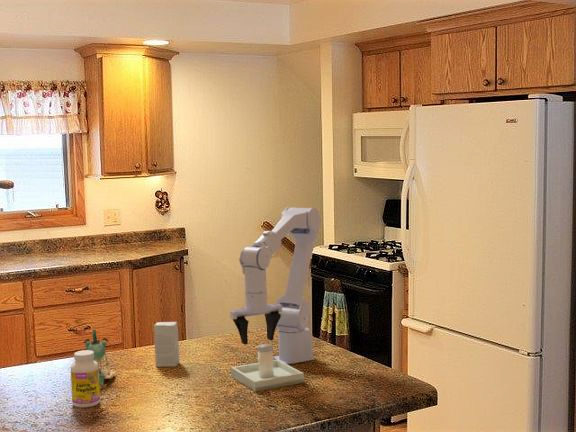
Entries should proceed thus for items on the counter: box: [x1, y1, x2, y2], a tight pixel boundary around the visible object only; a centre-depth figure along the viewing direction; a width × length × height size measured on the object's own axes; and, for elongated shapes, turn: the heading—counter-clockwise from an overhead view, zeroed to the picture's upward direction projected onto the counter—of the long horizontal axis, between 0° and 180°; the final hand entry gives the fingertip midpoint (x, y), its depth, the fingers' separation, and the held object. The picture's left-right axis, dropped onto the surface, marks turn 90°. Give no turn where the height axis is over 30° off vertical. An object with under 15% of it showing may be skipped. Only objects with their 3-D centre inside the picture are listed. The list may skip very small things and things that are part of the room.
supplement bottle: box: [70, 349, 101, 409], centre depth 192 cm, size 7×7×13 cm
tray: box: [230, 359, 305, 393], centre depth 208 cm, size 14×15×2 cm
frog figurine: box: [83, 329, 116, 390], centre depth 212 cm, size 10×18×15 cm, turn 7°
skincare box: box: [153, 321, 180, 368], centre depth 223 cm, size 6×4×12 cm
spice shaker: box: [256, 343, 274, 378], centre depth 208 cm, size 4×4×8 cm
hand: (257, 341), depth 211 cm, fingers open, 7 cm apart
